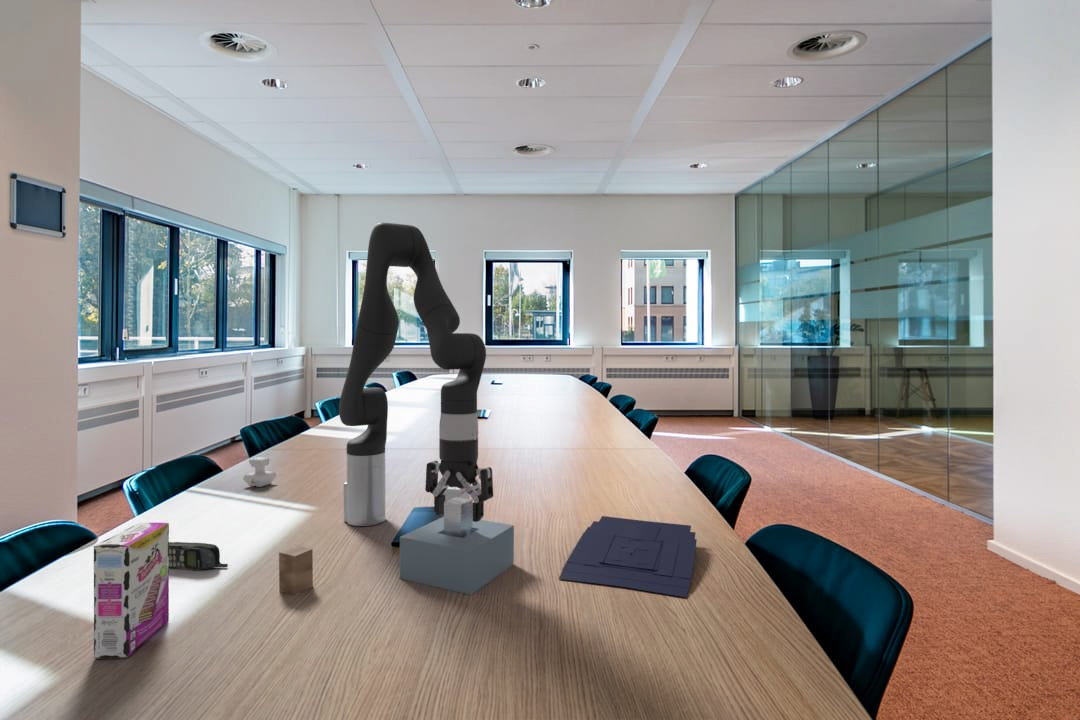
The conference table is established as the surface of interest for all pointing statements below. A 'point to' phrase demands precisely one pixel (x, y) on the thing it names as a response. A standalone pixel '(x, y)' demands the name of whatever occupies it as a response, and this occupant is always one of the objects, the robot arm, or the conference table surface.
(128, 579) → the candy bar box
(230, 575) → the conference table surface
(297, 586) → the short walnut pin
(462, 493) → the ink box
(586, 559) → the navy flat slab
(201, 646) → the conference table surface
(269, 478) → the stamp
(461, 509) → the long steel pin
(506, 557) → the hole block
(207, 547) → the mobile phone
